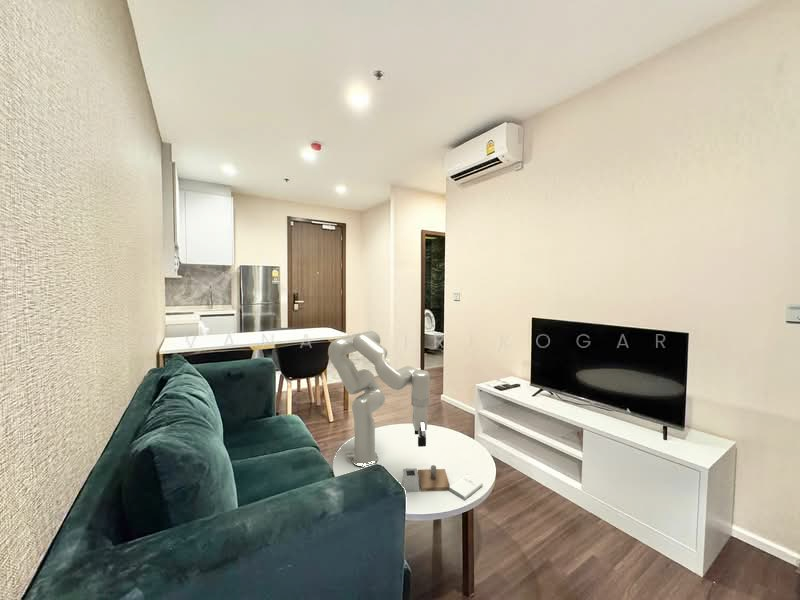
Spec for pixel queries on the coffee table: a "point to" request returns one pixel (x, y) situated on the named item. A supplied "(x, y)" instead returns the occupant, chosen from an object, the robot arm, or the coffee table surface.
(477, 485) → the external hard drive
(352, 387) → the robot arm
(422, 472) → the shaft block
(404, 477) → the grey hollow cube
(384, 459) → the coffee table surface
